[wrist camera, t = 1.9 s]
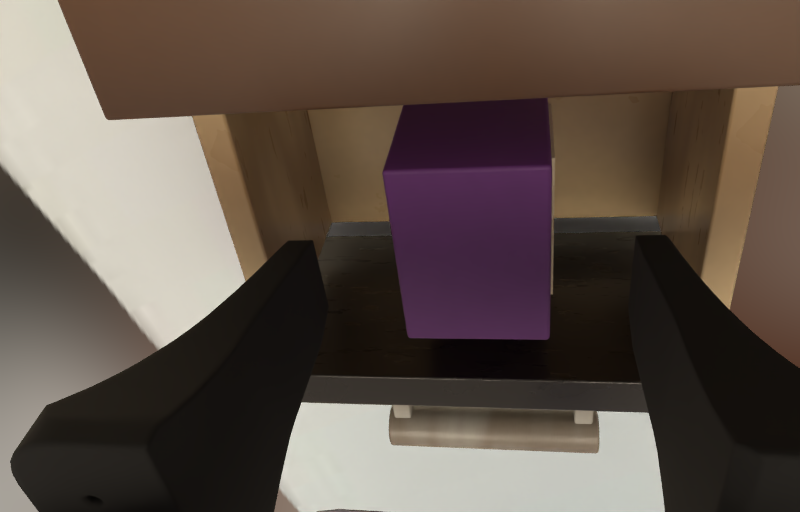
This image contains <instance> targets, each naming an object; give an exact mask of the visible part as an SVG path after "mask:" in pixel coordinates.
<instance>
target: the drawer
mask: <svg viewBox="0 0 800 512" xmlns="http://www.w3.org/2000/svg"><path fill="white" fill-rule="evenodd" d="M777 91H778V86H774V87H754V88H734V89H714V90H694V91H675V92H655V93H635V94H615V95H595V96H576V97H556V98H548V103H551V109H552V123H553V137H554V151H555V191H554V218H586V217H637V216H657V219H658V223H659V227H660V231H645V232H582V233H554V253H553V294H551V299H550V337H549V339H547V340H524V339H438V338H409V337H408V335H407V330H406V323H405V317H404V310H403V304H402V297H401V291H400V285H399V278H398V272H397V265H396V259H395V252H394V246H393V239H392V236H329V237H327V234H328V232H329V229H330V226H331V223H332V222H382V221H390V220H389V214H388V207H387V201H386V194H385V188H384V181H383V175H382V172H383V169H384V166H385V163H386V159H387V156H388V153H389V150H390V146H391V143H392V140H393V137H394V133H395V130H396V127H397V124H398V120H399V117H400V114H401V111H402V107H403V105H397V106H378V107H358V108H338V109H318V110H298V111H279V112H259V113H239V114H219V115H199V116H192V118H193V121H194V124H195V127H196V130H197V133H198V136H199V139H200V142H201V145H202V148H203V152H204V155H205V158H206V161H207V164H208V167H209V170H210V173H211V176H212V179H213V182H214V185H215V188H216V191H217V195H218V198H219V201H220V204H221V207H222V210H223V213H224V216H225V219H226V222H227V225H228V228H229V231H230V234H231V238H232V241H233V244H234V247H235V250H236V253H237V256H238V259H239V262H240V265H241V268H242V271H243V274H244V277H245V281H247V280H248V279H249V278H250V277H251V276H252V275H253V274H254V273H255V272H256V271H257V270H258V269H259V268H260V267H261V266H262V265H263V264H264V263H265V262H266V261H267V260H268V259H269V258H270V257H271V256H272V255H273V254H274V253H275V252H277V251H278V250H279V249H280V248H281V247H282V246H283V245H284V244H285V243H286V242H287V241H292V240H313V242H314V247H315V251H316V255H317V259H318V263H319V267H320V271H321V276H322V280H323V284H324V288H325V292H326V296H327V300H328V305H329V308H328V314H327V319H326V325H325V330H324V335H323V339H322V344H321V347H320V350H319V353H318V356H317V359H316V362H315V365H314V368H313V371H312V373H311V376H310V379H309V382H308V385H307V388H306V390H305V393H304V396H303V399H302V402H307V403H341V404H375V405H393V406H392V408H391V411H390V418H389V437H390V442H391V444H392V445H401V446H426V447H451V448H476V449H501V450H525V451H550V452H575V453H598V450H599V421H598V414H597V411H613V412H647V413H649V412H648V408H647V404H646V400H645V396H644V392H643V388H642V384H641V380H640V376H639V372H638V368H637V363H636V359H635V355H634V351H633V346H632V338H631V329H630V320H629V310H628V304H629V294H630V285H631V275H632V265H633V256H634V246H635V236H636V235H666V236H667V237H668V238H669V239H670V240H671V241H672V242H673V244H674V245H675V246H676V248H677V249H678V250H679V252H680V253H681V254H682V256H683V257H684V258H685V260H686V261H687V262H688V263H689V265H690V266H691V267H692V268H693V270H694V271H695V272H696V273H697V274H698V276H699V277H700V278H701V279H702V280H703V282H704V283H705V284H706V285H707V286H708V287H709V288H710V289H711V290H712V292H713V293H714V294H715V295H716V296H717V297H718V298H719V299H720V300H721V301H722V303H723V304H724V305H725V306H726V307H727V308H728V309H729V310H730V305H731V301H732V296H733V292H734V287H735V282H736V277H737V273H738V269H739V264H740V260H741V255H742V251H743V246H744V241H745V237H746V232H747V228H748V223H749V219H750V214H751V210H752V205H753V200H754V196H755V191H756V187H757V182H758V178H759V173H760V168H761V164H762V159H763V154H764V150H765V146H766V141H767V136H768V132H769V127H770V123H771V118H772V114H773V109H774V104H775V100H776V95H777Z"/></svg>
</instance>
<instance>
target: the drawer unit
mask: <svg viewBox="0 0 800 512" xmlns="http://www.w3.org/2000/svg"><path fill="white" fill-rule="evenodd" d="M58 2H59V5H60V7H61V10H62V12H63V14H64V17H65V19H66V22H67V24H68V27H69V29H70V32H71V34H72V37H73V39H74V41H75V44H76V46H77V49H78V51H79V54H80V56H81V59H82V61H83V64H84V66H85V68H86V71H87V73H88V76H89V78H90V81H91V83H92V86H93V88H94V91H95V93H96V95H97V98H98V100H99V103H100V105H101V108H102V110H103V113H104V115H105V117H106V119H108V120H120V119H140V118H160V117H180V116H199V115H219V114H239V113H259V112H279V111H298V110H318V109H338V108H358V107H378V106H397V105H417V104H437V103H457V102H477V101H496V100H516V99H536V98H556V97H576V96H595V95H615V94H635V93H655V92H675V91H694V90H714V89H734V88H754V87H774V86H793V85H800V0H58Z"/></svg>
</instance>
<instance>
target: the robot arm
mask: <svg viewBox="0 0 800 512" xmlns="http://www.w3.org/2000/svg"><path fill="white" fill-rule="evenodd" d="M328 308H329V305H328V300H327V296H326V292H325V288H324V284H323V280H322V276H321V271H320V267H319V263H318V259H317V255H316V251H315V247H314V242H313V240H292V241H287V242H286V243H285V244H284V245H283V246H282V247H281V248H280V249H279V250H278V251H277V252H275V253H274V254H273V255H272V256H271V257H270V258H269V259H268V260H267V261H266V262H265V263H264V264H263V265H262V266H261V267H260V268H259V269H258V270H257V271H256V272H255V273H254V274H253V275H252V276H251V277H250V278H249V279H248V280H247V281H246V282H245V283H244V284H243V285H242V286H241V287H239V288H238V289H237V290H236V291H235V292H234V293H233V294H232V295H231V296H229V297H228V298H227V299H226V300H225V301H224V302H223V303H221V304H220V305H219V306H218V307H217V308H216V309H214V310H213V311H212V312H211V313H210V314H209V315H208V316H206V317H205V318H204V319H203V320H201V321H200V322H199V323H197V324H196V325H195V326H193V327H192V328H191V329H189V330H188V331H187V332H185V333H184V334H182V335H181V336H180V337H178V338H177V339H175V340H174V341H172V342H171V343H169V344H168V345H166V346H165V347H163V348H161V349H160V350H158V351H157V352H155V353H153V354H152V355H150V356H148V357H147V358H145V359H143V360H142V361H140V362H139V363H137V364H135V365H133V366H131V367H130V368H128V369H126V370H124V371H122V372H120V373H119V374H116V375H114V376H112V377H110V378H109V379H106V380H105V381H102V382H100V383H98V384H96V385H94V386H92V387H90V388H87V389H85V390H83V391H80V392H78V393H76V394H73V395H71V396H68V397H66V398H64V399H61V400H59V401H57V402H54V403H51V404H49V405H47V406H46V407H45V408H44V410H43V411H42V412H41V414H40V415H39V417H38V418H37V420H36V421H35V423H34V424H33V425H32V427H31V428H30V430H29V431H28V433H27V434H26V436H25V437H24V438H23V440H22V441H21V443H20V444H19V446H18V447H17V449H16V450H15V451H14V453H13V456H12V458H11V461H10V463H11V470H12V473H13V476H14V477H15V479H16V481H17V483H18V485H19V486H20V487H21V489H22V490H23V491H24V493H25V494H26V495H27V497H28V498H29V499H30V501H31V502H32V503H33V505H34V506H35V507H36V509H37V510H38V511H39V512H274V509H275V504H276V499H277V494H278V489H279V484H280V479H281V474H282V470H283V465H284V461H285V457H286V452H287V448H288V444H289V439H290V435H291V432H292V429H293V425H294V422H295V419H296V416H297V413H298V410H299V408H300V405H301V402H302V399H303V396H304V393H305V390H306V388H307V385H308V382H309V379H310V376H311V373H312V371H313V368H314V365H315V362H316V359H317V356H318V353H319V350H320V347H321V344H322V339H323V335H324V330H325V325H326V319H327V314H328ZM628 310H629V320H630V329H631V338H632V346H633V351H634V355H635V359H636V363H637V368H638V372H639V376H640V380H641V384H642V388H643V392H644V396H645V400H646V404H647V408H648V412H649V416H650V420H651V424H652V428H653V432H654V437H655V442H656V447H657V452H658V459H659V467H660V474H661V482H662V489H663V497H664V505H665V512H800V368H798V367H797V366H795V365H794V364H792V363H791V362H790V361H788V360H787V359H786V358H784V357H783V356H782V355H780V354H779V353H778V352H776V351H775V350H774V349H772V348H771V347H770V346H769V345H768V344H766V343H765V342H764V341H763V340H761V339H760V338H759V337H758V336H757V335H756V334H754V333H753V332H752V331H751V330H750V329H749V328H748V327H747V326H746V325H745V324H743V323H742V322H741V321H740V320H739V319H738V318H737V317H736V316H735V315H734V314H733V313H732V312H731V311H730V310H729V309H728V308H727V307H726V306H725V305H724V304H723V303H722V301H721V300H720V299H719V298H718V297H717V296H716V295H715V294H714V293H713V292H712V290H711V289H710V288H709V287H708V286H707V285H706V284H705V283H704V282H703V280H702V279H701V278H700V277H699V276H698V274H697V273H696V272H695V271H694V270H693V268H692V267H691V266H690V265H689V263H688V262H687V261H686V260H685V258H684V257H683V256H682V254H681V253H680V252H679V250H678V249H677V248H676V246H675V245H674V244H673V242H672V241H671V240H670V239H669V238H668V237H667V236H666V235H636V236H635V246H634V256H633V265H632V275H631V285H630V294H629V304H628ZM317 512H381V511H364V510H346V509H335V510H325V511H317Z"/></svg>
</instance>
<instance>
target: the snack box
mask: <svg viewBox="0 0 800 512" xmlns="http://www.w3.org/2000/svg"><path fill="white" fill-rule="evenodd" d="M382 175H383V181H384V188H385V194H386V201H387V207H388V214H389V220H390V227H391V233H392V239H393V246H394V252H395V259H396V265H397V272H398V278H399V285H400V291H401V297H402V304H403V310H404V317H405V323H406V330H407V335H408V337H409V338H438V339H524V340H547V339H549V337H550V299H551V294H553V253H554V191H555V151H554V137H553V123H552V109H551V103H548V98H536V99H516V100H496V101H477V102H457V103H437V104H417V105H403V107H402V111H401V114H400V117H399V120H398V124H397V127H396V130H395V133H394V137H393V140H392V143H391V146H390V150H389V153H388V156H387V159H386V163H385V166H384V169H383V172H382Z"/></svg>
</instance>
